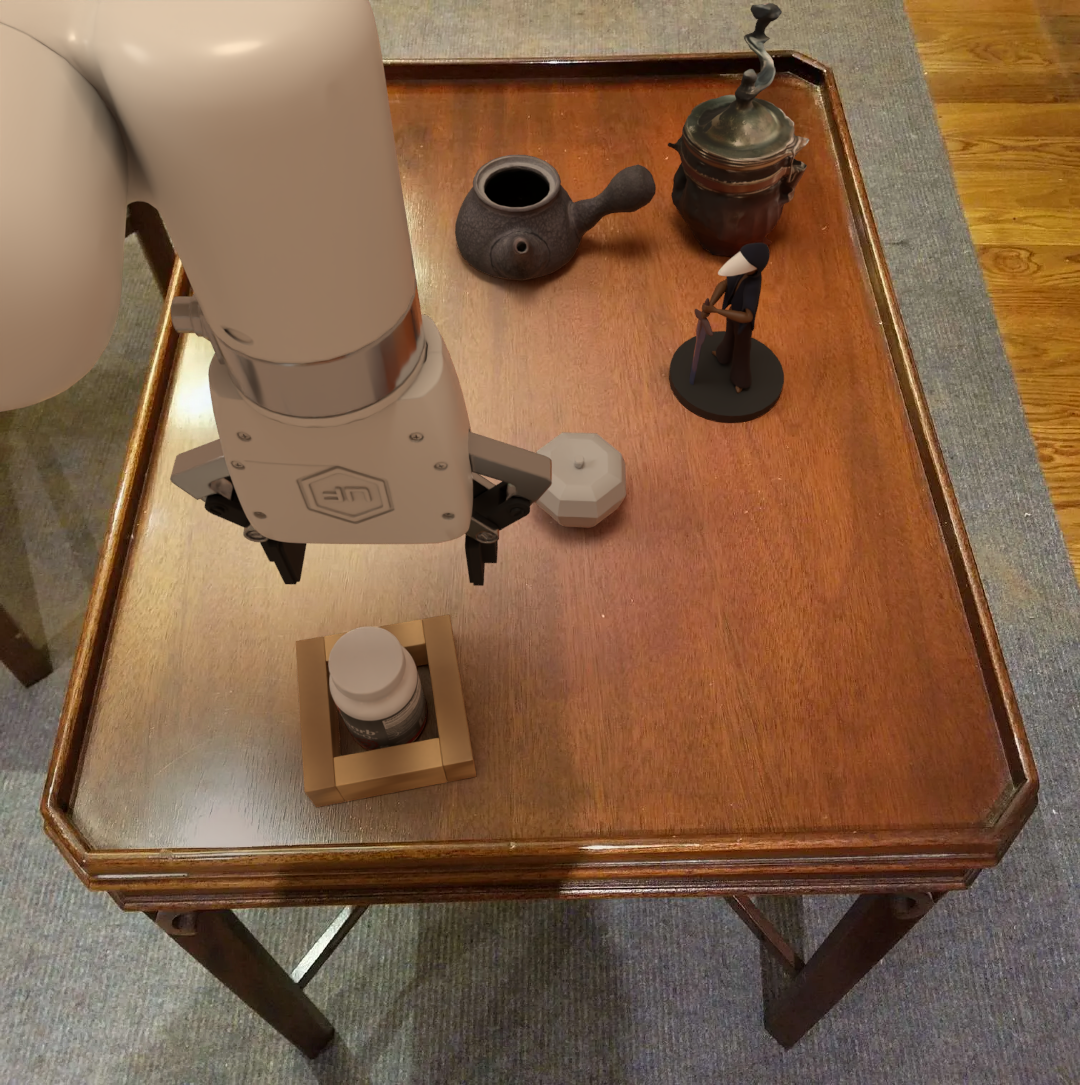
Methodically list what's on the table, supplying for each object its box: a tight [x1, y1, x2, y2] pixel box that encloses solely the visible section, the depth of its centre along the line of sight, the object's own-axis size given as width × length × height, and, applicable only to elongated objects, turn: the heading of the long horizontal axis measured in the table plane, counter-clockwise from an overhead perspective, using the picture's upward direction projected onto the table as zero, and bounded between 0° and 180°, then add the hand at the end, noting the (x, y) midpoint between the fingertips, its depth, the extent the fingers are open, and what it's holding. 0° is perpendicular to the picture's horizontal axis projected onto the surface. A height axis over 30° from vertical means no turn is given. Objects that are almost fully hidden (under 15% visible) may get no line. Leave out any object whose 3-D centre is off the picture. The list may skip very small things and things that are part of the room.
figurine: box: [668, 243, 785, 424], centre depth 75 cm, size 10×10×15 cm
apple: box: [535, 431, 627, 529], centre depth 72 cm, size 8×8×7 cm
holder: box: [295, 614, 477, 808], centre depth 64 cm, size 11×11×4 cm
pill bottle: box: [328, 625, 428, 751], centre depth 61 cm, size 6×6×10 cm
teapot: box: [454, 154, 657, 281], centre depth 86 cm, size 19×15×10 cm
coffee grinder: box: [667, 2, 810, 257], centre depth 86 cm, size 13×15×18 cm
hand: (387, 561), depth 48 cm, fingers open, 9 cm apart
